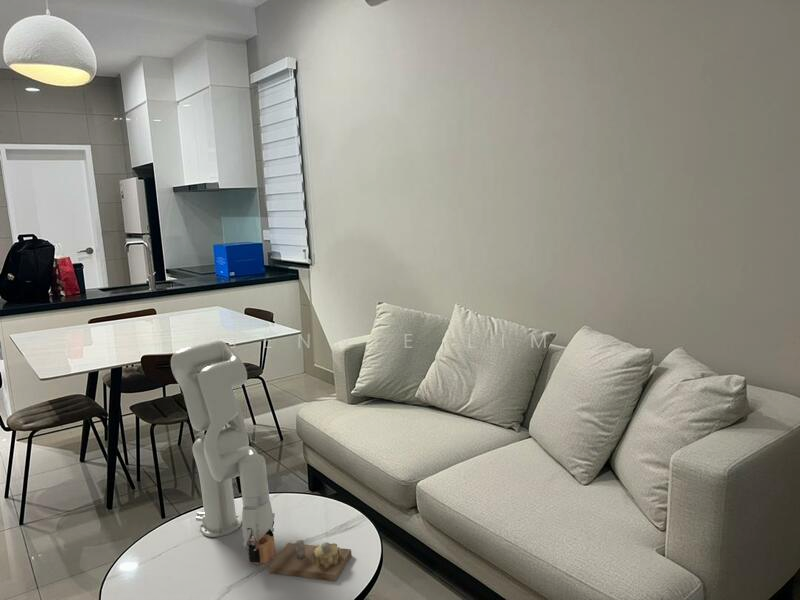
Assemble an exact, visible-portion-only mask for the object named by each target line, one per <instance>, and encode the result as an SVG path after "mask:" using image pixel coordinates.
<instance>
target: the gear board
mask: <svg viewBox="0 0 800 600" xmlns="http://www.w3.org/2000/svg"><path fill="white" fill-rule="evenodd" d="M352 556H353V555H352V549H351V548H341V547H340V546H339V547H338V544H337V543H335V542H334V543H330V542H323V543H321V544H320V545H319V544H317V545H313V544H305V542H304V540H303V539H299V540H296V541H295V542H294V543H293V542H288V543H287V544H286V545H285V546H284V547H283V549H282V550H281V551H280V552H279V554H278V555H277V556H275V558H274V559H273V561H272V562H271V563H270V565H269V566H268V569H269V574H274V575H282V576H288V577H289V576H290V577H296V578H297V577H299V578H305V579H307V578H308V579H315V580H322V581H329V582H330V581H332V582H337V580H338V579H339V578H340V576H341V574H342V572H343V571H344V569H345V567H346V566H347V565H348V562H349V561H350V559H351V558H352Z"/></svg>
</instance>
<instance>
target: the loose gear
mask: <svg viewBox="0 0 800 600" xmlns="http://www.w3.org/2000/svg"><path fill="white" fill-rule="evenodd" d="M252 538H253V539H255V538H254V537H252ZM254 544H255V541H252V542H251V545H253V546H254ZM257 549H259V554H260V562H259V563H256V562H253V563H254V564H255V565H259V564H262V563H264V564H267V563H269V561H271V560H275V558H276V554H277V553H276V545H275V536H274V537H273V536H269V534H265V535H264V536H263V537H262V538H261V539H260V540H259V542H258V548H257Z"/></svg>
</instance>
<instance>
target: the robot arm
mask: <svg viewBox="0 0 800 600" xmlns="http://www.w3.org/2000/svg"><path fill="white" fill-rule="evenodd" d="M170 368H171V373H172V375H173V377H174V379H175V381H176V382H177V384H178V386H179V387H180V390H181V392H182V396H183V398H184V403H185V406H186V409H187V414H188V417H189V418H188V419H189V420H190V422H189V423H190V424H191V426H192V427H191V428H193V429H194V430H195V431H197V432H203V431H206V433H205V434H204V435H201V436H200V437H198V438H197V439H196V440H195V441H194V443H193V444H192V455H193V458H194V460H195V464H196V467H197V471H198V476H199V483H200V484H199V485H200V491H201V497H202V505H203V511H197V513H196V517H195V521H196V522H202V525H201V533H202V534H203V535H204V536H206V537H209V538H220V537H224V536H227V535H230V534H232V533H234V532H236V531H237V530H239V528H242V537H243V542H242V546H243V547H244V548H245V550H247V552H248V559H249V560H248V561H249V562H250V563H254V562H256V563H259V562H260V554H259V549H257V548H258V542H259V540H260V539H261V538H262V537H263V536H264V535H265V534H269V536H273V537H274V538H275V536H274V532H275V528H274V524H275V518H276V517H275V516H276V513H275V512H273V509H272V503H271V499H270V491H269V482H268V474H267V465H266V459H265V457H264V456H263V455H261V454H259V453H258V452H257V450H256V448H254V447H252V446H251V445H250V441H249V434H248V431H247V428H246V423H245V419H244V415H243V412H242V411H243V410H242V407H241V404H240V402H239V400H238V399H237V398H236V396H235V395H234V394H235V393H234V391H233V388H235V387H240V386H243V385H244V384H245V383H247V380H248V372H247V368H246V366H245V364H244V362H243V361H242V359H241V358H240V357H239V356H238V354H236V352H235V351H234V350H233V348H231V347H230V346H229V344H227V343H226V342H224V341H222V340H215V341H211V342H205V343H202V344H197V345H196V344H195V345H191V346H187V347H184V348H181V349H179V350H177V351H175V352H174V353H173V354H172V356H171V358H170ZM225 426H226V428H224V427H225ZM236 477H239V483H240V490H241V497H242V498H241V499H242V505H243V507H242V512H241V513H242V514H241V515H242V516H240V515H238V514H236V513H237V512H236V506H235V505H236V504H235V498H234V489H233V488H234V487H233V479H234V478H236ZM253 538H255V539H253ZM252 541H255V544H254V546H253V545H251V542H252ZM259 564H260V563H259Z"/></svg>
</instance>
